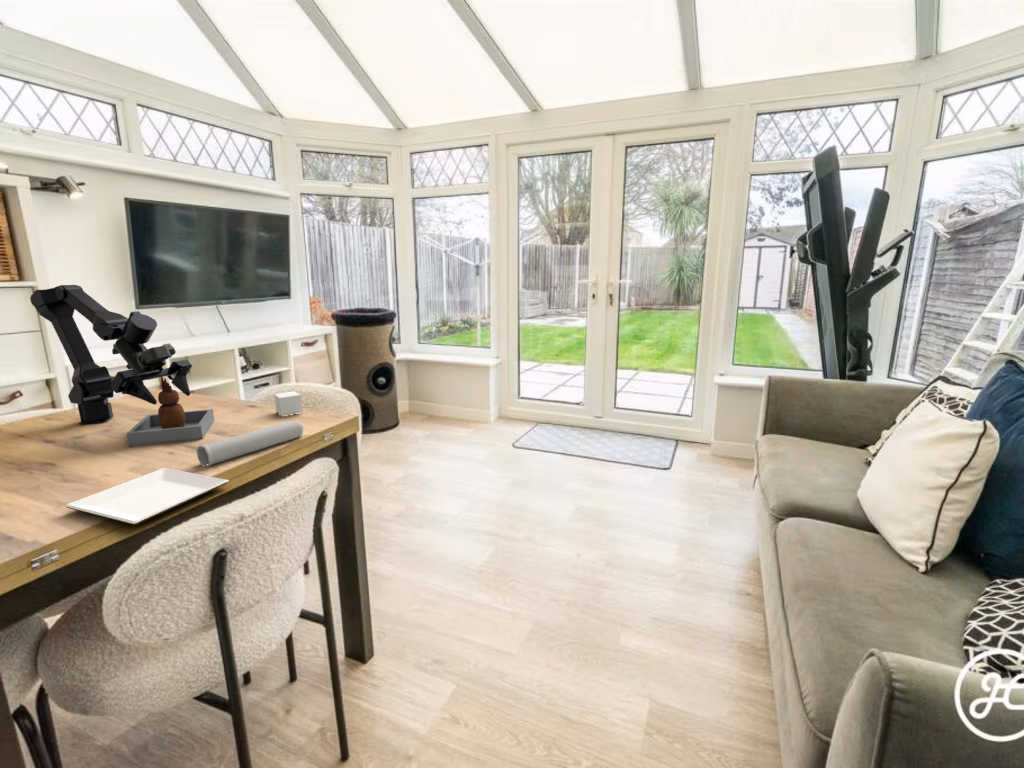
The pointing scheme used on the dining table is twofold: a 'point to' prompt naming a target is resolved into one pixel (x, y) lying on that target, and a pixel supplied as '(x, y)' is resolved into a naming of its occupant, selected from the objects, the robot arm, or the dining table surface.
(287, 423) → the tube
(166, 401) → the wooden figurine
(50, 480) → the dining table surface
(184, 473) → the plate
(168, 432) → the box
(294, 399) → the light grey cube
